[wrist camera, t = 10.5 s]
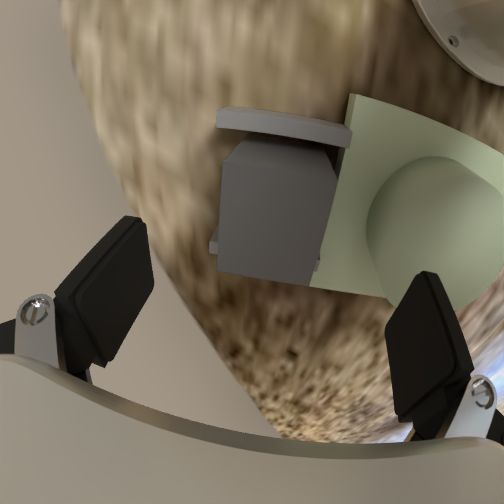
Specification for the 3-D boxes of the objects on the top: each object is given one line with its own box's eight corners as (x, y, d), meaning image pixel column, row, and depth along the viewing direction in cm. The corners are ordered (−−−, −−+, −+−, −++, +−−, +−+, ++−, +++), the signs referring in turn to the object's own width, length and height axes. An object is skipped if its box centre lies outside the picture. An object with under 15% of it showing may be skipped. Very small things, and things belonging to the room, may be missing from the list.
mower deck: (511, 160, 14) (556, 189, 9) (452, 293, 22) (473, 339, 17) (232, 74, 15) (203, 70, 10) (218, 254, 23) (197, 305, 18)
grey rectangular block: (323, 146, 17) (337, 180, 11) (306, 224, 21) (308, 286, 15) (247, 134, 17) (222, 161, 12) (239, 213, 21) (216, 271, 15)
